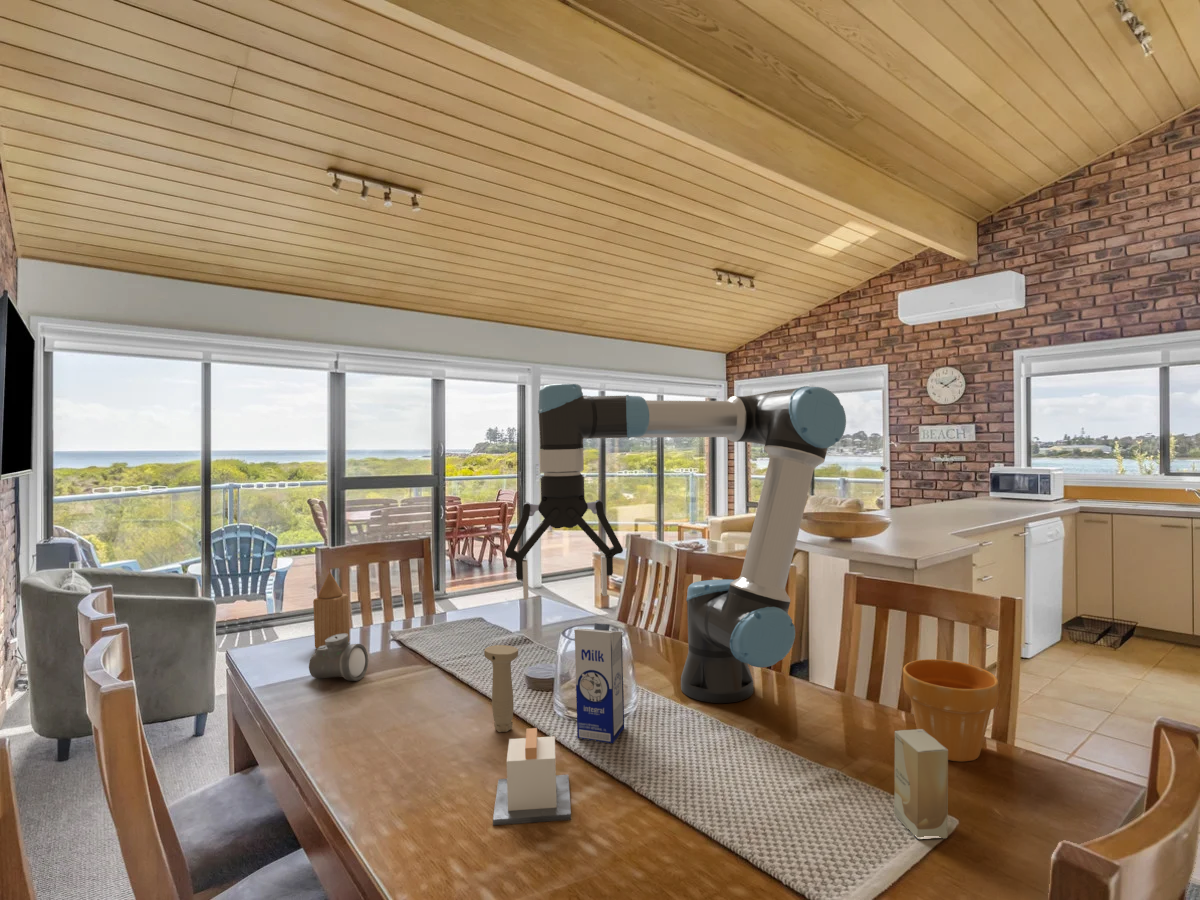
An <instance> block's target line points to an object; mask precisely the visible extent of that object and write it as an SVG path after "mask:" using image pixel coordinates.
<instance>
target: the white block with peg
mask: <svg viewBox="0 0 1200 900" xmlns="http://www.w3.org/2000/svg"><path fill="white" fill-rule="evenodd" d="M525 730H526V732H525V737H522V738H520V737H519V738H508V746H507V754H506V779H507V794H508V811H513V810H527V809H541V808H556V807H557V802H556V775H557V774H556V773H557V772H556V770H557V768H556V767H557V765H556V736H554V735H553V736H552V735H551V736H541V737H539V736H538V728H537V727H533V728H526V729H525Z"/></svg>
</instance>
